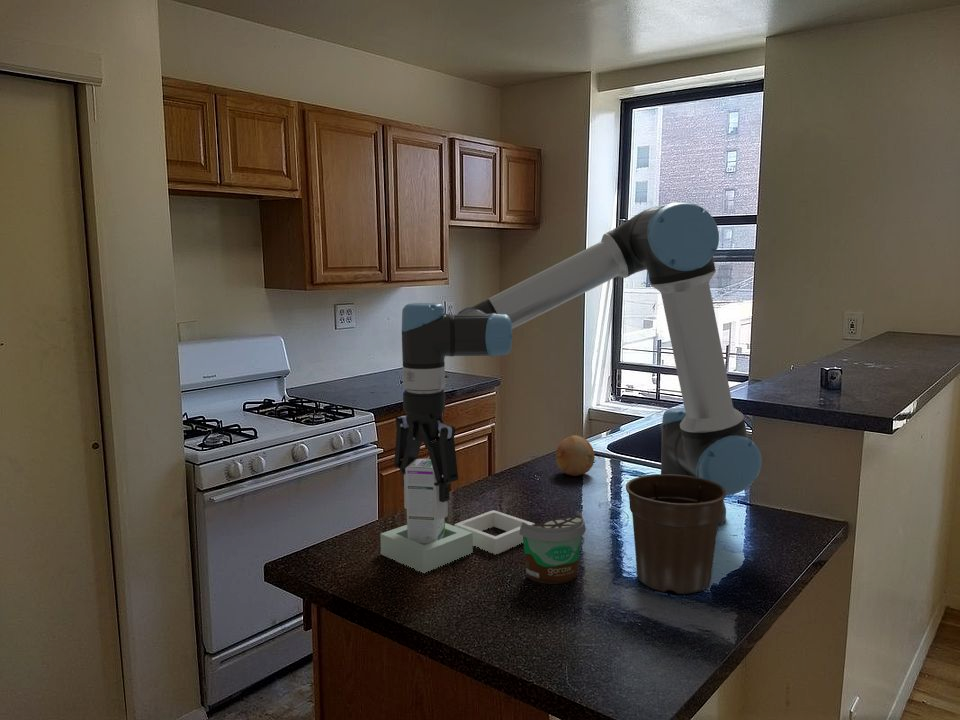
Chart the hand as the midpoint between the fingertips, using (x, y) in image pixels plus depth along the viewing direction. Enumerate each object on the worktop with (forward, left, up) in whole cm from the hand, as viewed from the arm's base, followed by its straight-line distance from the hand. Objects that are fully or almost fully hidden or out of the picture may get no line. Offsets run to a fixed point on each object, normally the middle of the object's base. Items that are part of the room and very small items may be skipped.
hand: (425, 512), depth 134 cm
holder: (-4, -14, -8) cm, 17 cm away
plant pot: (-38, -22, -8) cm, 45 cm away
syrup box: (0, 0, -5) cm, 5 cm away
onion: (+10, -58, -8) cm, 59 cm away
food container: (-24, -9, -8) cm, 27 cm away
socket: (0, 0, -8) cm, 8 cm away
